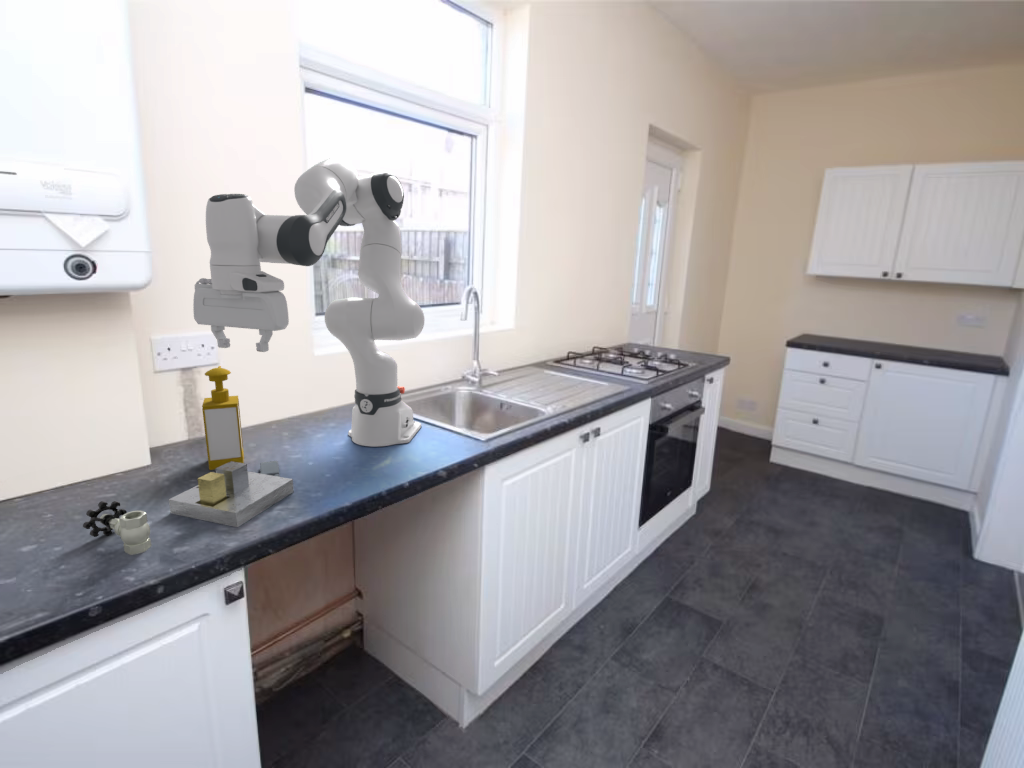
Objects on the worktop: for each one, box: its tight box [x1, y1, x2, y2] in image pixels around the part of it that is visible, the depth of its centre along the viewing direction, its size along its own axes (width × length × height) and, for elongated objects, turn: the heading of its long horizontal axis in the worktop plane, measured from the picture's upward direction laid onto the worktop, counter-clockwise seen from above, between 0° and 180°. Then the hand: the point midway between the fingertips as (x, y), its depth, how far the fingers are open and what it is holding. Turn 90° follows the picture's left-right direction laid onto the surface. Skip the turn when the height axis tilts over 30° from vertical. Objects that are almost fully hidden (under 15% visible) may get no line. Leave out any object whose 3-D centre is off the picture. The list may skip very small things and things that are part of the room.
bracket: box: [259, 460, 281, 477], centre depth 122 cm, size 4×10×2 cm, turn 25°
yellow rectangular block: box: [197, 471, 227, 507], centre depth 103 cm, size 3×3×8 cm
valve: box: [82, 500, 152, 556], centre depth 93 cm, size 7×7×12 cm
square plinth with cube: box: [168, 461, 294, 528], centre depth 108 cm, size 16×16×8 cm
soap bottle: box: [201, 365, 245, 471], centre depth 128 cm, size 7×13×24 cm, turn 25°
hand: (243, 349), depth 107 cm, fingers open, 8 cm apart
